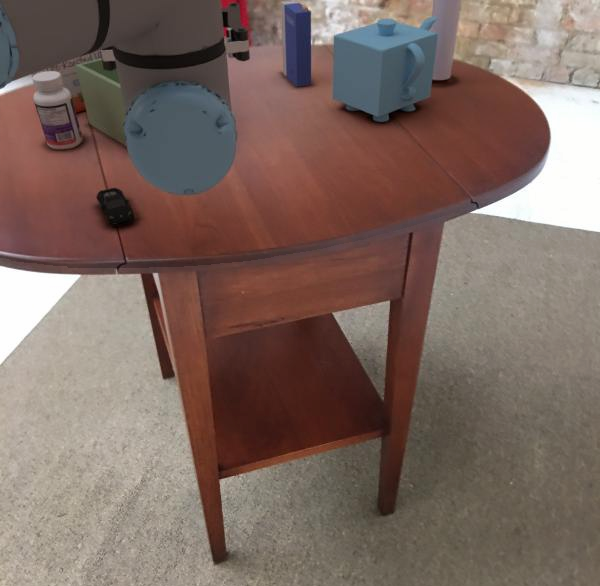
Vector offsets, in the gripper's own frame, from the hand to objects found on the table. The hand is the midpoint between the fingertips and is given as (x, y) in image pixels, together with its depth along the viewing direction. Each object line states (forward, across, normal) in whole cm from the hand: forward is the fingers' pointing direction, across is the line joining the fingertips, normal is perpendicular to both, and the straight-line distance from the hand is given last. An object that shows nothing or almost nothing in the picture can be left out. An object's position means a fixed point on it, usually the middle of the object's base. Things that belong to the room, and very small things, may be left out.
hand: (171, 1), depth 69 cm
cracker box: (+36, -17, -23) cm, 46 cm away
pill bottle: (+21, -20, -23) cm, 37 cm away
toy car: (-3, -11, -23) cm, 25 cm away
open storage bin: (+25, -6, -23) cm, 34 cm away
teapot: (+26, +34, -23) cm, 48 cm away
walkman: (+41, +20, -23) cm, 51 cm away
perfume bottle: (+35, +45, -23) cm, 61 cm away
